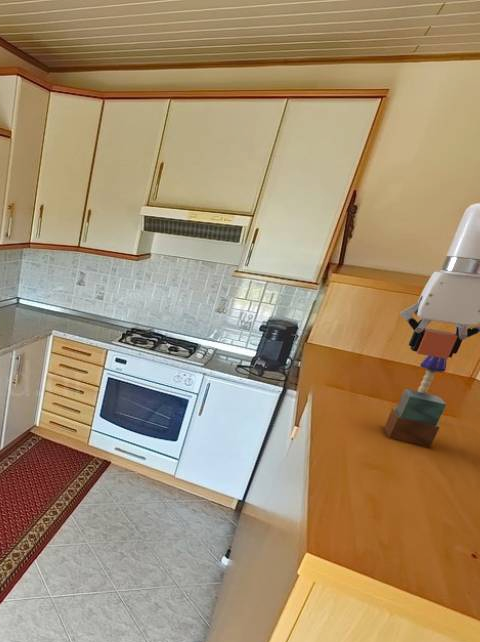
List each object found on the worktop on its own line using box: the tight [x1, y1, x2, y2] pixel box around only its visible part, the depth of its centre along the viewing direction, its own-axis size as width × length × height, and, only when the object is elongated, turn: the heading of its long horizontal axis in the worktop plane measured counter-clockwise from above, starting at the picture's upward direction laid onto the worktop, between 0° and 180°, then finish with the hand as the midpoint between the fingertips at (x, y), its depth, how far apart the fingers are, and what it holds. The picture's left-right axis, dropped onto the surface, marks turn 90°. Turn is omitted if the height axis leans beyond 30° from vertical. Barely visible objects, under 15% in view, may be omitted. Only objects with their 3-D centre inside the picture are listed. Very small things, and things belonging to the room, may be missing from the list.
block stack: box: [383, 388, 447, 449], centre depth 107 cm, size 7×7×10 cm
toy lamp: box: [417, 355, 448, 394], centre depth 120 cm, size 5×5×17 cm
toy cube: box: [414, 327, 458, 360], centre depth 105 cm, size 5×5×5 cm
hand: (430, 352), depth 106 cm, fingers closed on toy cube, 5 cm apart
